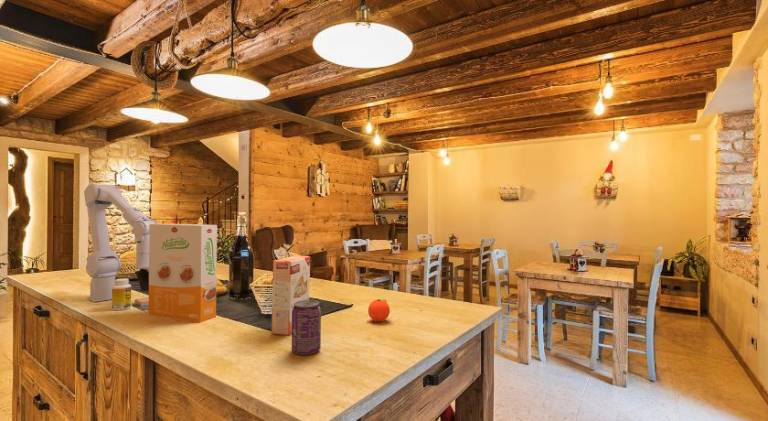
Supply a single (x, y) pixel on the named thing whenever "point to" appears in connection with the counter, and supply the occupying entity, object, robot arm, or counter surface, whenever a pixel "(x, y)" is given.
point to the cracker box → (288, 290)
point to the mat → (141, 307)
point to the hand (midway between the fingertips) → (145, 289)
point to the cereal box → (182, 271)
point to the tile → (142, 301)
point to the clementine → (379, 310)
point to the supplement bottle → (121, 294)
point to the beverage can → (306, 327)
